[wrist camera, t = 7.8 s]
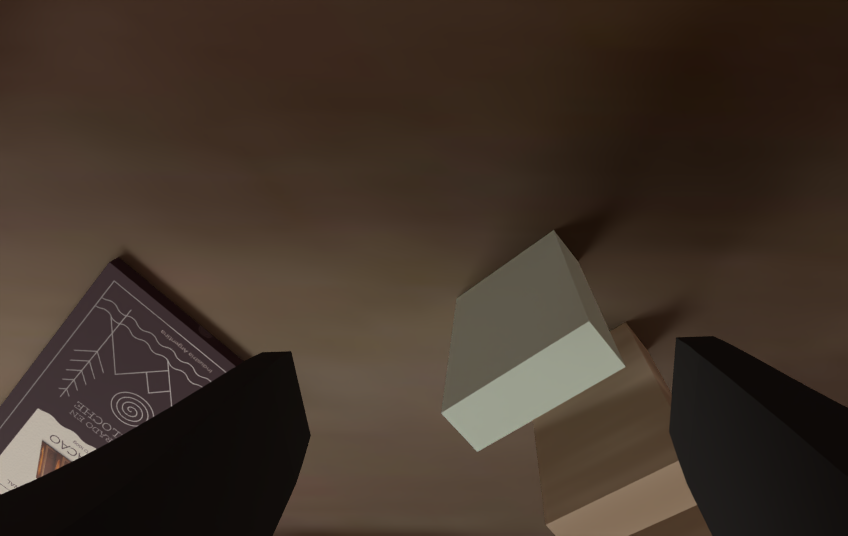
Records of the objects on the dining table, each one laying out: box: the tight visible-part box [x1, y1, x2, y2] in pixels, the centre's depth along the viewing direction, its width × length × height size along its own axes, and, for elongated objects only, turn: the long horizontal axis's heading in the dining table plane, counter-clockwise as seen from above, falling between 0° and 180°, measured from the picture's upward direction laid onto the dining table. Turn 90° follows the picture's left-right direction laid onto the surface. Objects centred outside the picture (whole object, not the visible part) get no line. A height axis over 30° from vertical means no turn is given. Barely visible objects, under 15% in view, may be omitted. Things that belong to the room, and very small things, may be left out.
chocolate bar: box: [0, 257, 244, 495], centre depth 25 cm, size 9×1×18 cm
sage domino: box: [441, 230, 626, 452], centre depth 16 cm, size 2×4×7 cm, turn 130°
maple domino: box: [533, 322, 697, 536], centre depth 17 cm, size 2×4×7 cm, turn 130°
